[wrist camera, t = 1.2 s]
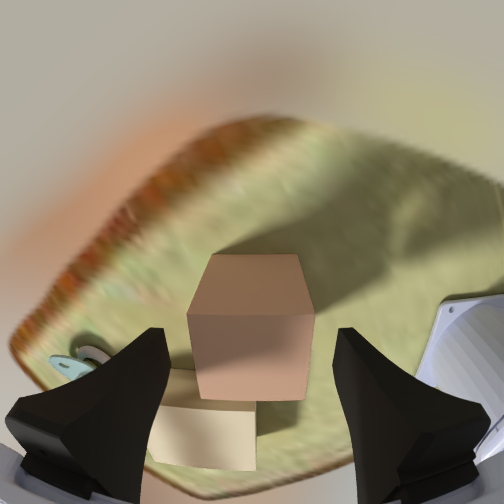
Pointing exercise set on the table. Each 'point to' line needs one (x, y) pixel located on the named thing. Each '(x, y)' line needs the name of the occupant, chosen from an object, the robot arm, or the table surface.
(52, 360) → the pacifier
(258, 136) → the table surface
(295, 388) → the terracotta block
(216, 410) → the birch block
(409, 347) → the table surface
